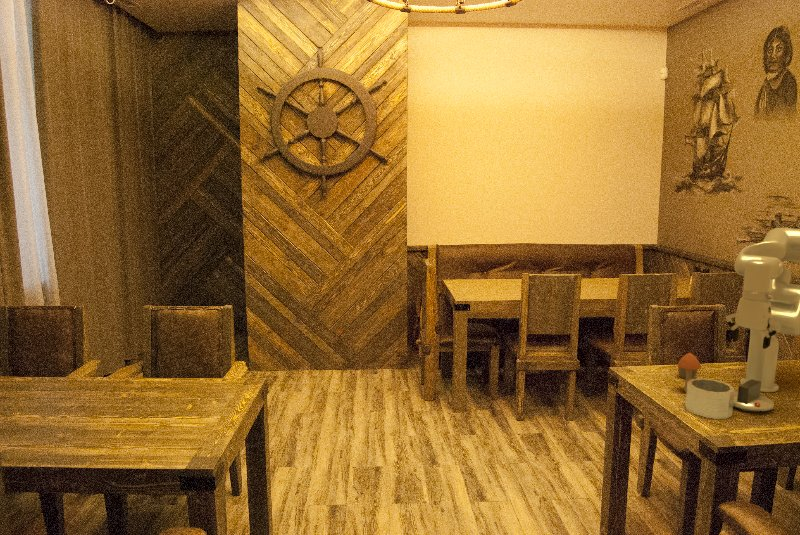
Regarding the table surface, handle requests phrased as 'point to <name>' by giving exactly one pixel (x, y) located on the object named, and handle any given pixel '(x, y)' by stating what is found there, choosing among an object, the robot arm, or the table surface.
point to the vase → (683, 372)
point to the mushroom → (689, 366)
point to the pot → (710, 398)
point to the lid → (751, 398)
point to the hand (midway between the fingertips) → (750, 344)
